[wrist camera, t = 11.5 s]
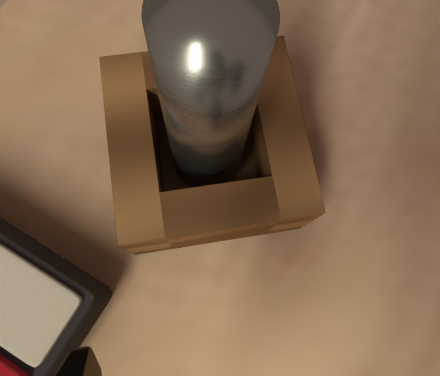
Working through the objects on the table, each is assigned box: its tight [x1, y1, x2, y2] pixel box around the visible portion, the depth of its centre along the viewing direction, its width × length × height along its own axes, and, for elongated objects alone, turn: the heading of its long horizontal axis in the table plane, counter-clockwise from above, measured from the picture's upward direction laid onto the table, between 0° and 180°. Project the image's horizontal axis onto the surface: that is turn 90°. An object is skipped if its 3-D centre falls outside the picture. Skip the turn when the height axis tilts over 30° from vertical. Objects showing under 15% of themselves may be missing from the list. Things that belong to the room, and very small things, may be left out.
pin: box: [142, 0, 280, 187], centre depth 17 cm, size 4×4×12 cm
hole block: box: [99, 36, 326, 255], centre depth 22 cm, size 10×10×5 cm
